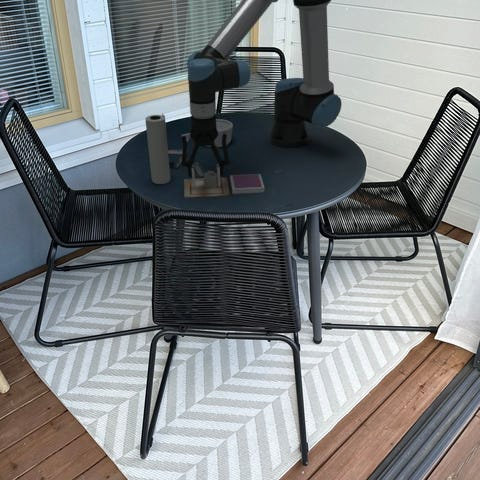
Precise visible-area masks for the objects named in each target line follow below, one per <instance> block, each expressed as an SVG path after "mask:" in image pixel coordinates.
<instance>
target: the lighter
mask: <svg viewBox="0 0 480 480" xmlns="http://www.w3.org/2000/svg"><path fill="white" fill-rule="evenodd" d="M193 165H194V170H196V172H197V175H198V176H199V177H202V176H203V179H204V187H205V188H217V187H218V179H217V172H215V171H214V170H207V171H206V172H205V171H204V169H203V167H202V166H201V165H200V163H199V161H198V162H195V163H193Z"/></svg>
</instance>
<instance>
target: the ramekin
mask: <svg viewBox="0 0 480 480" xmlns="http://www.w3.org/2000/svg"><path fill="white" fill-rule="evenodd" d="M233 126H234V125H233V123H232V122H231V121H229V120H226V119H222V118H221V119H220V118H218V119H217V118H216V129H217V131H218V132H221V133H223V132H226V134H227V138H226V146H228V145H229V144H230V143H231V142H232V135H233V130H234V127H233ZM214 143H215V145H216V148H217V149H218V148H223V147H222V140H220V139H219V136H217V138H216V139H215V141H214ZM204 147H208V148H211V147H210V146H206V145H204Z"/></svg>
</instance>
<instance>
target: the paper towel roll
mask: <svg viewBox="0 0 480 480" xmlns="http://www.w3.org/2000/svg"><path fill="white" fill-rule="evenodd" d="M166 124H167V123H166V116H165V114H163V112H162V113H161V114H153V115H152V114H151V115H148V116H146V117H145V127H146V136H147V137H146V138H147V139H146V140H147V145H148V146H147V147H148V154H149V155H148V156H149V164H150V174H151V176H150V177H151V181H152V183H154V184H157V185H164V184H165V185H166V184H168V183H169V182H170V181H171V172H170V171H171V170H170V168H171V167H169V162H170V158H169V153H168V150H169V149H168V148H169V147H168V137H167V136H168V135H167V125H166Z"/></svg>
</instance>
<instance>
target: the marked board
mask: <svg viewBox="0 0 480 480" xmlns="http://www.w3.org/2000/svg"><path fill="white" fill-rule="evenodd" d="M183 183H184V184H183V187H184V189H183V191H184V192H183V195H184V199H186V198H208V197H210V198H211V197H228V196H231V195H230V188H229V184H228V183H229V182H228V177H220V186H218V187H217V188H205V187H204V178H195V188H193V183H192V178H187V179H185V178H184V180H183Z"/></svg>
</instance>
